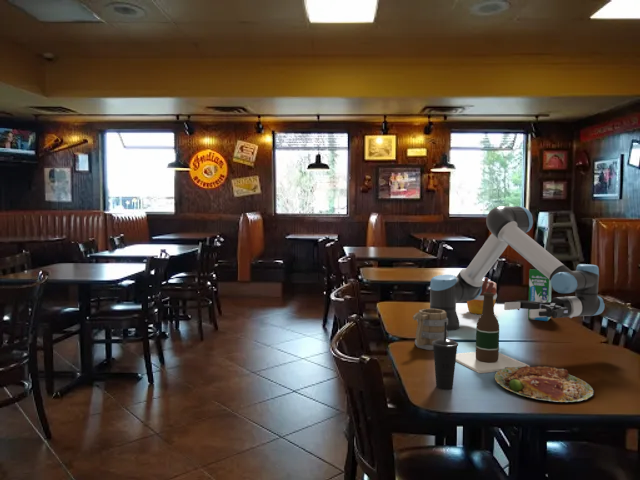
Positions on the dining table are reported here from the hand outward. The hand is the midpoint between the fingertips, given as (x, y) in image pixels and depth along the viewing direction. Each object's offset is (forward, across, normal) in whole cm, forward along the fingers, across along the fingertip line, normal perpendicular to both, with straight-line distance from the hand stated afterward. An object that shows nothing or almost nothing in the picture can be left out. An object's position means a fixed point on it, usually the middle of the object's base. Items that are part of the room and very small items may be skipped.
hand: (516, 309), depth 182 cm
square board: (+12, -1, -18) cm, 22 cm away
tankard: (+24, +22, -18) cm, 37 cm away
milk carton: (-57, +55, -18) cm, 81 cm away
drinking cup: (+40, -19, -18) cm, 48 cm away
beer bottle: (+12, -1, -17) cm, 21 cm away
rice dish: (+11, -27, -18) cm, 34 cm away
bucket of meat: (-37, +75, -19) cm, 85 cm away
